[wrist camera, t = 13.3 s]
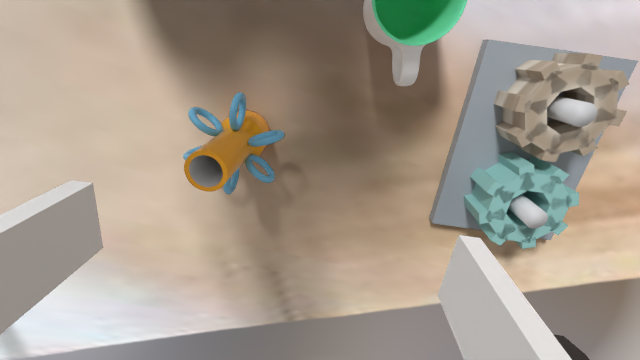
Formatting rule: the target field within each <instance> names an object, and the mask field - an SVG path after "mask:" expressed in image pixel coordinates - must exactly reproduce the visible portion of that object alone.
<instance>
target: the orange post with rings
mask: <svg viewBox="0 0 640 360" xmlns="http://www.w3.org/2000/svg"><path fill="white" fill-rule="evenodd" d="M238 107H239V112H237V111H238ZM196 114H199V115H201V116H203V117H205V118H207V119H208V120H209V121H210V122H211V123H212V124H213V125H214V126H215V128H216V130H215V129H212V128H210V127H208V126H206V125H205V124H204V123H202V122H201V121H200V120H199V118H198V117H197V115H196ZM189 118H190V120H191V121H192V122H193V124H194V125H195V126H196V127H197V128H199V129H200V130H201V131H203V132H204V133H206V134H208V135H211V136H216V137H214V138H213V139H212V140H210V141H209V142H207V143H206V144H204V145H203V146H200V147H197V148H194V149H191V150H189V151H187V152H186V153H185V154H184V155H183V158H184V159H185V160H186V161H185V165H184V171H185V175H186V177H187V179H188V180H189V182H190V183H191V184H192V185H193V186H195V187H196V188H198V189H200V190H203V191H216V190H218V189H220V188H221V187H222V186H223V187H224V192H225V193H226V194H231V193H232V192H233V191H234V189H235V187H236V185H237V181H238V177H239V167H240V165H241V164H242V163H245V164H246V167H247V168H248V170H249V171H250V172H251V173H252V175H254V176H255V177H256V178H257V179H259V180H260V181H263V182H265V183H271V182H273V181H274V179H275V174H274V171H273V169H272V168H271V167H270V165H269V164H268V163H267V162H266V161H265V160H263V159H262V158H260V157H259V155H260V154H261V153H262V151H263V150H264V149H265V147H266V146H267V145H268V144H272V143H275V142H277V141H279V140H281V139H282V138H283V137H284V135H285V134H284V132H283V131H282V130H273V131H270V130H269V126H268V124H267V122H266V121H265V120H264V118H263V117H262V116H260V115H259V114H257V113H255V112H253V111H247V110H246V98H245V95H244V94H243V93H237V94H236V95H235V96H234V98H233V100H232V103H231V107H230V114H229V117H228V118H227V119H225V120H224V121H223V122H222V123H220V122H219V121H218V119H217V118H216V117H215V116H213V115H212V114H211V113H209V112H208V111H206V110H204V109H202V108H198V107H193V108H191V109H190V110H189ZM252 161H254V162H257V163H258V164H260V165H261V166H262V167H263V168H264V169H265V170H266V172H267V173H268V176H265V175H263V174H262V173H260V172H259V171H258V170H257V169H256V168H255V167H254V165H253V163H252ZM231 176H232V179H231ZM230 182H231V183H230Z"/></svg>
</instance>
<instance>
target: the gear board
mask: <svg viewBox="0 0 640 360" xmlns="http://www.w3.org/2000/svg"><path fill="white" fill-rule="evenodd" d="M555 53H579V52H572V51H565V50H558V49H551V48H544V47H537V46H530V45H523V44H516V43H509V42H502V41H495V40H483V42H482V45H481V49H480V52H479V55H478V59H477V62H476V65H475V68H474V72H473V75H472V78H471V82H470V85H469V88H468V92H467V95H466V98H465V101H464V105H463V108H462V111H461V115H460V118H459V121H458V125H457V128H456V131H455V134H454V138H453V141H452V144H451V148H450V151H449V154H448V158H447V161H446V164H445V168H444V171H443V174H442V177H441V181H440V184H439V187H438V191H437V194H436V197H435V201H434V204H433V207H432V210H431V214H430V217H429V219H430V220H431V222H432V223H434V224H441V225H448V226H455V227H462V228H469V229H476V230H482V229H481V228H480V226H479V225H478V224H477V223H476V221H475V218H474V216H473V215H472V214H471V213H470V211H469V210H468V209H467V208H466V207H465V203H464V195H469V194H472V192H473V189H474V186H475V183H476V182H475V181H474V180H473V179H472V178H471V177H470V176H471V175H472V174H473V173H474V171H475V170H476V169H477V168H478V167H480V168H481V169H483V170H484V171H485V170H487V169H488V168H490V167H492V166H493V165H495V164H497V163H498V162H499V154H503V153H508V152H513V153H515V154H517V155H518V156H520V157H522V158H524V159H525V160H527V161H528V160H529V159H530V158H531V157H532V156H533V155H531V154H529V153H528V152H526V151H524V150H522V149H520V148H518V147H519V146H518V145H516V144H514V143H513V142H511V141H509V140H507V139H505V138H503V137H501V136H500V134H499V132H498V130H497V129H496V127H495V126H496V125H498V124H499V123H501V122H503V108H502V107H501V106H498V105H495V104H494V101H495V98H496V96H497V93H498V90H499V91H506V92H507V91H508V90H509V89H510V87H511V86H512V85H513V84H514V82H515V81H516V80H517V79H518V77H519V75H518V73H517V71H516V68H517V67H519V66H520V65H522V64H523V63H525V62H526V61H528V60H541V61H552V59H553V57H554V54H555ZM637 62H638V61H635V60H628V59H621V58H614V57H607V56H603V57H602V59H601V61H600V64H599V66H598V67H599V68H600V69H605V70H618V71H624V73H625V75H626V78H627V80H629V78H630V76H631V74H632V72H633V70H634V68H635V66H636V64H637ZM625 87H626V86H625ZM625 87H624V88H622V89H620V90H618V100H617V103H618V101H619V99H620V97H621V95H622V93H623V91H624V89H625ZM596 115H597V108H596V106H595V105H594V104H592V103H588V102H584V101H579V100H574V99H569V98H565V97H563V91H562V92H560V93H559V95H558V96H557V97H556V98H555V99H554V100H553V102H552V103H551V104H550V105H549V106H548V107H547V121H550V120H551V119H556V120H559V121H562V122H565V123H568V124H571V125H574V126H578V127H583V126H586V125H588V124H590V123H591V122H592V121H593V120H594V119H595V117H596ZM603 132H604V131H603ZM603 132H602V133H601V134H600V135H599V136H598V137H597V138H596V139H595V140H594V141H595V143H596V145H597V144H598V142H599V140H600V138H601V136H602V134H603ZM593 152H594V150H593V151H592V152H590V153H588V154H586V155H584V156H581V155H579V154H576V153H574V152H572V151H567V152H563V153H560V154H559V156H558V158H557V160H556V162H551V161H546V162H548V163H550V164H552V165H554V166H556V167H557V168H559V169H561V170H562V171H564V172H565V173H567V174H569V176H568V177H567V178H566V179H565V180H564V181H563V182H562V183H563V184H564V185H566V186H568V187H569V188H571V189H573V190H574V191H575V189H576V187H577V185H578V183H579V181H580V179H581V177H582V175H583V173H584V171H585V169H586V167H587V165H588V163H589V161H590V158H591V156H592V154H593ZM524 194H525V192H524V193H522V194H521V195H519V196H517V197H515V198H513V199H512V200H511V203H510V205H509V209H510V210H511V211H512V212H513V213H514V214H515V215H516V216H517V217H518V218H519V219H520V220H521V221H523V222H524V223H525V224H526V225H527V226H528V227H530V228H533V229H535V228H540V227H542V226H543V225H544V224H545V223H546V222H547V220H548V215H547V213H546V212H545V211H543V210H542V209H541V208H540V207H538V206H537V205H536V204H534V203H533V202H532V201H531V200H529V199H528V198H527V197H525V196H524ZM553 234H554V232H552V231H551V232H549V233H548V234H546V235H544V236H542V237H540V238H539V239H546V240H551V239H552V236H553Z"/></svg>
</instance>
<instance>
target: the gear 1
mask: <svg viewBox="0 0 640 360" xmlns="http://www.w3.org/2000/svg"><path fill="white" fill-rule="evenodd" d="M602 57H603V56H601V55H594V54H587V53H555V54H554V57H553V59H552V61H541V60H528V61H526V62H525V63H523V64H522V65H520V66H519V67H517V68H516V71H517V73H518V75H519V77H518V79H517V80H516V81H515V82H514V84H513V85H512V86H511V87H510V89H509V90H508V91H507V92H506V91H499V90H498V93H497V96H496V98H495V101H494V104H495V105H498V106H501V107H502V108H503V122H501V123H499V124H498V125H496V126H495V127H496V129H497V130H498V132H499V134H500V136H501V137H503V138H505V139H507V140H509V141H511V142H513V143H514V144H516V145H518V146H519V147H518V148H520V149H522V150H524V151H526V152H528V153H529V154H531V155H533V156H535V157H537V158H539V159H541V160H544V161H551V162H556V160H557V158H558V156H559V154H560V153H563V152H567V151H572V152H574V153H576V154H579V155H581V156H584V155H586V154H588V153H590V152H592V151H593V150H595V149H597V148H598V147H597V145H596V143H595V141H594V140H595V139H596V138H597V137H598V136H599V135H600V134H601V133H602V132H603V131H604V130H605V129H606V128H607V127H608V126H609V125H614V126H620V124H621V122H622V120H623V118H624V116H625V114H626V112H627V111H623V110H619V109H617V100H618V90H620V89H622V88H624V87H625V86H627V85H629V83H628V80H627V78H626V75H625V73H624V71H618V70H605V69H600V68H599V67H598V66H599V64H600V61H601V59H602ZM562 91H563V97H565V98H569V99H574V100H579V101H584V102H588V103H592V104H594V105H595V106H596V108H597V115H596V117H595V119H594V120H593V121H592V122H591V123H590V124H588V125H586V126H583V127H578V126H574V125H571V124H568V123H565V122H562V121H559V120H556V119H551V120H550V121H547V107H548V106H549V105H550V104H551V103H552V102H553V100H554V99H555V98H556V97H557V96H558V95H559V93H560V92H562Z"/></svg>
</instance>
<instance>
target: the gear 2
mask: <svg viewBox="0 0 640 360" xmlns="http://www.w3.org/2000/svg"><path fill="white" fill-rule="evenodd" d="M568 176H569V174H567V173H565V172H564V171H562V170H561V169H559V168H557V167H556V166H554V165H552V164H550V163H548V162H546V161H544V160H541V159H539V158H537V157H535V156H532V157H531V158H530V159H529V160H528V161H527V160H525V159H524V158H522V157H520V156H518V155H517V154H515V153H513V152H508V153H503V154H499V162H498V163H497V164H495V165H493V166H492V167H490V168H488V169H487V170H485V171H484V170H483V169H481V168H480V167H478V168H477V169H476V170H475V171H474V173H473V174H472V175H471V176H470V177H471V178H472V179H473V180H474V181H475V182H476V183H475V186H474V189H473V192H472V194H469V195H464V203H465V207H466V208H467V209H468V210H469V211H470V213H471V214H472V215H473V216H474V218H475V221H476V223H477V224H478V225H479V226H480V228H481V229H482V230H483V231H484V233H485V234H486V235H487V236H488V238H489V239H490V240H491V241H493V242H495V243H496V244H498V245H500V246H501V245H502V244H503V243H504V242H505V241H506V240H512V241H516V243H517V244H518V245H519V246H520V247H521V248H522V249H525V248H530V247H536V239H538V238H540V237H542V236H544V235H546V234H548V233H549V232H551V231H552V232H554V233H555V234H557V235H559V234H560V233H561V232H562V231H563V230H564V229H565V228H566V227H567V226H568V225H567V224H565V223H564V222H563V221H562V220H563V218H564V216H565V214H566V212H567V210H568V208H569V207H572V206H577V205H579V193H578V192H576V191H574V190H573V189H571V188H569V187H568V186H566V185H564V184H563V183H562V182H563V181H564V180H565V179H566V178H567V177H568ZM524 192H525V194H524V196H525V197H527V198H528V199H529V200H531V201H532V202H533V203H534V204H536V205H537V206H538V207H540V208H541V209H542V210H543V211H545V212H546V213H547V215H548V220H547V222H546V223H545V224H544V225H543V226H542V227H540V228H535V229H533V228H530V227H528V226H527V225H526V224H525V223H524V222H523V221H521V220H520V219H519V218H518V217H517V216H516V215H515V214H514V213H513V212H512V211H511V210H510V209H509V205H510V203H511V200H512V199H513V198H515V197H517V196H519V195H521V194H522V193H524Z"/></svg>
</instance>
